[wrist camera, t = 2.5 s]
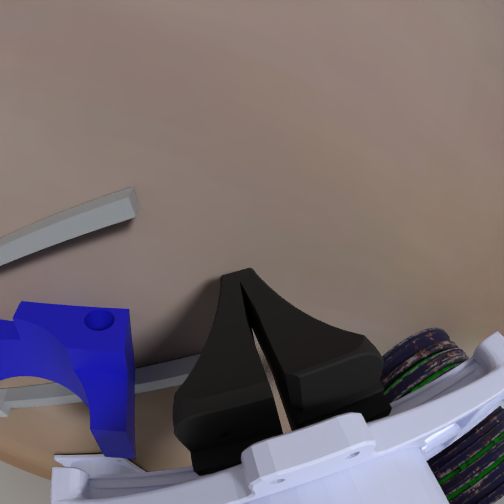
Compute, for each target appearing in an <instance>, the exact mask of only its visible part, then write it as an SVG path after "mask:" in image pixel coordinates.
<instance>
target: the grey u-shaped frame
mask: <svg viewBox="0 0 504 504" xmlns="http://www.w3.org/2000/svg"><path fill="white" fill-rule="evenodd" d="M138 207H139V203H138V200H137V197H136V194H135V191H134V189H133V187H130V188H127V189H124V190H121V191H118V192H115V193H112V194H109V195H106V196H103V197H101V198H98V199H95V200H92V201H89V202H87V203H84V204H81V205H79V206H76V207H73V208H71V209H68V210H65V211H63V212H60V213H58V214H55V215H53V216H50V217H48V218H45V219H43V220H41V221H38V222H36V223H33V224H31V225H29V226H26V227H24V228H22V229H20V230H17V231H15V232H13V233H11V234H8V235H6V236H4V237H2V238H0V266H1V265H3V264H6V263H8V262H11V261H13V260H16V259H18V258H21V257H23V256H26V255H29V254H31V253H34V252H36V251H39V250H42V249H44V248H47V247H50V246H52V245H55V244H58V243H61V242H63V241H66V240H69V239H72V238H75V237H77V236H80V235H83V234H86V233H89V232H92V231H95V230H98V229H101V228H104V227H107V226H110V225H113V224H116V223H119V222H122V221H125V220H128V219H131V218H135V217H136V215H137V211H138ZM200 355H201V354H197V355H193V356H189V357H185V358H181V359H177V360H173V361H168V362H164V363H160V364H155V365H151V366H146V367H141V368H136V369H135V394H137V393H142V392H148V391H153V390H158V389H163V388H168V387H172V386H177V385H182V384H183V382H184V381H185V380H186V378H187V377H188V375H189V374H190V372H191V371H192V369H193V367H194V366H195V364H196V362H197V361H198V359H199V357H200ZM77 402H83V401H82V400H81V399H80V398H79V397H78V396H77V395H76V394H75V393H73V392H72V391H71V390H69V389H68V388H66V387H64V386H62V385H61V384H58V383H49V384H42V385H34V386H25V387H16V388H6V389H0V417H9V413H10V409H11V408H19V407H35V406H48V405H59V404H68V403H77Z"/></svg>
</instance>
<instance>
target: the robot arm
mask: <svg viewBox="0 0 504 504" xmlns="http://www.w3.org/2000/svg"><path fill="white" fill-rule="evenodd" d="M220 281H221V286H220V296H219V301H218V307H217V311H216V315H215V319H214V322H213V326H212V329H211V332H210V334H209V337H208V340H207V342H206V344H205V346H204V349H203V351H202V353H201V355H200V357H199V359H198V361H197V362H196V364H195V366H194V367H193V369H192V371H191V372H190V374H189V375H188V377H187V378H186V380H185V381H184V382H183V384H182V385H181V386H180V388H179V389H178V391H177V392H176V393H175V397H174V403H173V426H174V434H175V436H176V437H177V439H178V440H179V441H180V442H181V443H182V444H183V445H184V446H185V447H186V448H187V449H188V450H189V451H190V452H191V459H192V465H193V466H191V467H184V468H178V469H170V470H162V471H153V472H145V471H144V470H142V469H141V468H139V467H138V466H136V465H135V464H134V463H132V462H131V461H129V460H128V459H127V458H113V457H105V456H104V455H103V454H89V455H54V459H55V460H56V461H57V462H59V463H61V464H62V465H64V466H65V467H52V481H51V504H449V502H448V500H447V498H446V496H445V494H444V492H443V491H442V489H441V487H440V485H439V483H438V481H437V480H436V478H435V476H434V474H433V472H432V471H431V469H430V467H429V465H428V463H427V462H426V461H427V460H429V459H430V458H432V457H433V456H435V455H436V454H438V453H439V452H441V451H442V450H444V449H445V448H446V447H448V446H449V445H451V444H452V443H453V442H455V441H456V440H457V439H459V438H460V437H461V436H463V435H464V434H465V433H467V432H468V431H469V430H471V429H472V428H473V427H474V426H476V425H477V424H478V423H479V422H481V421H482V420H483V419H484V418H486V417H487V416H488V415H489V414H490V413H492V412H493V411H494V410H495V409H496V408H498V407H499V406H500V405H501V404H502V403H503V402H504V337H503V336H502V335H501V334H500V333H499V332H498V331H496V332H495V333H493V334H492V335H490V336H489V337H488V338H486V339H485V340H483V341H482V342H481V343H480V344H479V345H478V346H477V348H476V349H475V351H474V354H473V356H472V357H471V358H469V359H468V360H466V361H465V362H463V363H462V364H460V365H459V366H457V367H455V368H454V369H452V370H451V371H449V372H447V373H446V374H444V375H442V376H441V377H439V378H437V379H435V380H434V381H432V382H430V383H428V384H427V385H425V386H423V387H421V388H419V389H418V390H416V391H414V392H412V393H410V394H408V395H406V396H404V397H402V398H400V399H398V400H396V401H394V402H392V403H389V402H388V400H387V398H386V397H385V395H384V393H383V391H384V387H383V386H382V384H381V382H380V381H379V380H380V376H381V372H382V368H383V358H382V356H381V354H380V353H379V351H378V350H377V349H376V347H375V346H374V345H373V344H372V343H371V342H370V341H369V340H368V339H367V338H366V337H365V336H364V335H360V334H356V333H353V332H349V331H345V330H342V329H339V328H336V327H333V326H331V325H328V324H326V323H324V322H322V321H319V320H317V319H315V318H313V317H311V316H309V315H308V314H306V313H304V312H302V311H301V310H299V309H297V308H296V307H294V306H293V305H291V304H290V303H289V302H287V301H286V300H285V299H283V298H282V297H281V296H279V295H278V294H277V293H276V292H275V291H274V290H272V289H271V288H270V287H269V286H268V285H267V284H266V283H265V282H264V281H263V280H262V279H261V278H260V277H259V276H258V275H257V274H256V272H255V271H254V270H253V269H252V268H247V269H244V270H240V271H236V272H233V273H229V274H226V275H222V277H221V278H220ZM251 326H252V327H251ZM252 329H253V331H254V333H255V335H256V338H257V340H258V342H259V344H260V347H261V349H262V351H263V353H264V355H265V357H266V360H267V362H268V364H269V366H270V369H271V371H272V374H273V377H274V380H275V383H276V386H277V389H278V392H279V395H280V398H281V400H282V403H283V406H284V409H285V412H286V415H287V418H288V421H289V424H290V427H291V430H292V431H291V432H288V433H285V434H283V432H282V427H281V423H280V420H279V416H278V412H277V408H276V405H275V401H274V397H273V394H272V391H271V388H270V385H269V382H268V379H267V376H266V374H265V371H264V368H263V366H262V363H261V360H260V357H259V355H258V352H257V349H256V346H255V341H254V336H253V331H252Z"/></svg>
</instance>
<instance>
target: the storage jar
mask: <svg viewBox="0 0 504 504" xmlns="http://www.w3.org/2000/svg"><path fill="white" fill-rule="evenodd" d="M382 358H383V368H382V372H381V376H380V380H379V381H380V382H381V384H382V386H383V387H384V391H383V393H384V395H385V397H386V398H387V400H388V402H389V403H392V402H394V401H396V400H398V399H400V398H402V397H404V396H406V395H408V394H410V393H412V392H414V391H416V390H418V389H419V388H421V387H423V386H425V385H427V384H428V383H430V382H432V381H434V380H435V379H437V378H439V377H441V376H442V375H444V374H446V373H447V372H449V371H451V370H452V369H454V368H455V367H457V366H459V365H460V364H462V363H463V362H465V361H466V360H468V359H469V357H468V356H467V355H466V354H465V352H464V351H463V350H462V349H460V348H458V346H457V345H456V344H455V343H454V342H452V341H450V338H449V336H448V335H447V333H446V332H445V331H444V330H443V329H441V328H430V329H426V330H423V331H421V332H418V333H416V334H414V335H412V336H410V337H409V338H407V339H405V340H403V341H402V342H401V343H399V344H398V345H396V346H395V347H393V348H392V349H391V350H390V351H388V352H387V353H386V354H385V355H384V356H383V357H382ZM426 462H427V463H428V465H429V467H430V469H431V471H432V472H433V474H434V476H435V478H436V480H437V481H438V483H439V485H440V487H441V489H442V491H443V492H444V494H445V496H446V498H447V500H448V502H449V504H494V503H495V502H496V501H497V500H499V499H500V498H501V497H503V496H504V409H502V407H501V406H499V407H498V408H496V409H495V410H494V411H493V412H492V413H490V414H489V415H488V416H487V417H486V418H484V419H483V420H482V421H481V422H479V423H478V424H477V425H476V426H474V427H473V428H472V429H471V430H469V431H468V432H467V433H465V434H464V435H463V436H461V437H460V438H459V439H457V440H456V441H455V442H453V443H452V444H451V445H449V446H448V447H446V448H445V449H444V450H442V451H441V452H439V453H438V454H436V455H435V456H433V457H432V458H430V459H429V460H427V461H426Z"/></svg>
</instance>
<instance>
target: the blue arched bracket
mask: <svg viewBox="0 0 504 504" xmlns="http://www.w3.org/2000/svg"><path fill="white" fill-rule="evenodd" d="M13 320H14V321H7V320H0V380H3V379H6V378H10V377H17V376H34V377H41V378H45V379H48V380H51V381H54V382H56V383H58V384H61V385H62V386H64V387H66V388H68V389H69V390H71V391H72V392H73V393H75V394H76V395H77V396H78V397H79V398H80V399H81V400H82V401H83V402H84V403H85V404H86V405H87V407H88V408H89V409H90V430H91V432H92V434H93V436H94V438H95V440H96V441H97V443H98V445H99V447H100V449H101V451H102V453H103V455H104V456H105V457H113V458H127V459H136V458H135V416H134V409H135V361H134V353H133V345H132V336H131V325H130V314H129V309H118V308H99V307H84V306H69V305H57V304H45V303H34V302H24V301H21V302H20V304H19V306H18V308H17V310H16V312H15V314H14V317H13Z"/></svg>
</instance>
